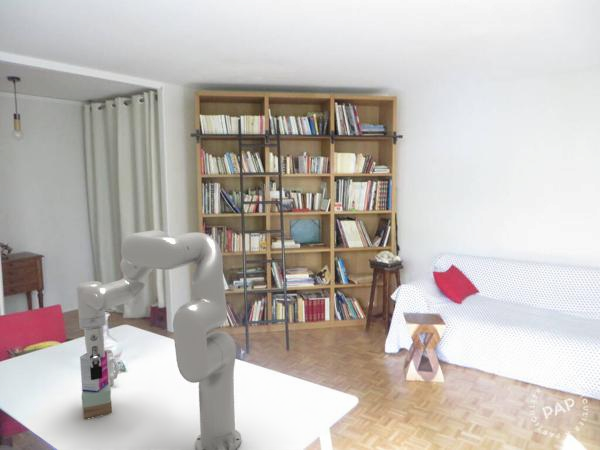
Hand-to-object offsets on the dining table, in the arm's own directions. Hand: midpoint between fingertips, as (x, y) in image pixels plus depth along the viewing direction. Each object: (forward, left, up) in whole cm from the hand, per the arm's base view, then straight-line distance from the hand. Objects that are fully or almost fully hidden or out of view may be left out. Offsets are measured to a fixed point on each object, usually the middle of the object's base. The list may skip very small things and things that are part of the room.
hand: (96, 372), depth 139 cm
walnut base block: (0, 0, -13) cm, 13 cm away
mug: (+18, -4, -13) cm, 23 cm away
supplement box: (0, 0, -5) cm, 5 cm away
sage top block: (0, 0, -9) cm, 9 cm away
